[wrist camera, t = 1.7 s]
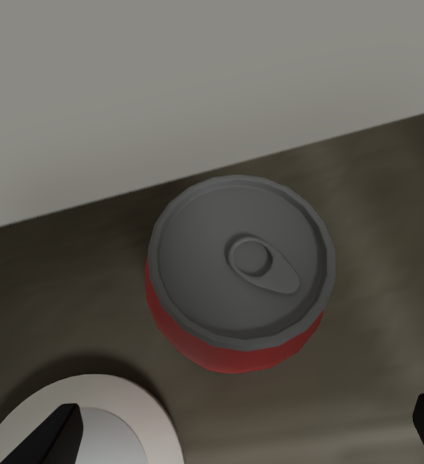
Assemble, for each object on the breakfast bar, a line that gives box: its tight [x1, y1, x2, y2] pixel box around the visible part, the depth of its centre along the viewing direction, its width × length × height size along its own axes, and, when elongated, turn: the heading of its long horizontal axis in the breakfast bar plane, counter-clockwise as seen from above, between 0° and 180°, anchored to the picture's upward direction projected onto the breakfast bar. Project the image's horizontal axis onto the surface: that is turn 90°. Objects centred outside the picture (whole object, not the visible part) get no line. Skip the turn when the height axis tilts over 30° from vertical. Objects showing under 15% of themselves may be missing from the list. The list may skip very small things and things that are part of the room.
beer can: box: [145, 174, 336, 373], centre depth 14 cm, size 7×7×12 cm
